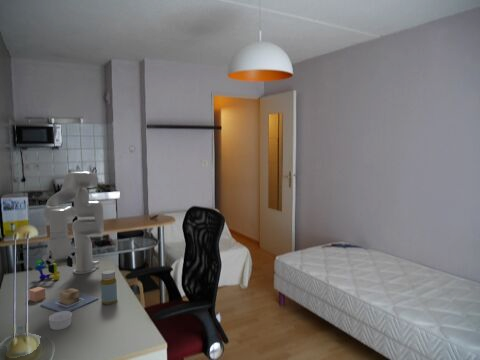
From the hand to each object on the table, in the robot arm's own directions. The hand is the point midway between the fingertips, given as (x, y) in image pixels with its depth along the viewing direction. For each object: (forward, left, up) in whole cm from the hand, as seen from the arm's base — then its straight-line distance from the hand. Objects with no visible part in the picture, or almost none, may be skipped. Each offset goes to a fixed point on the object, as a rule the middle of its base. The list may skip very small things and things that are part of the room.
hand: (61, 269), depth 172 cm
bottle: (-11, +20, -16) cm, 28 cm away
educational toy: (-15, -35, -16) cm, 41 cm away
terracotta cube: (+4, -14, -16) cm, 22 cm away
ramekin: (+15, +21, -16) cm, 31 cm away
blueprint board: (-1, +4, -16) cm, 17 cm away
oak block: (-1, +4, -15) cm, 16 cm away
